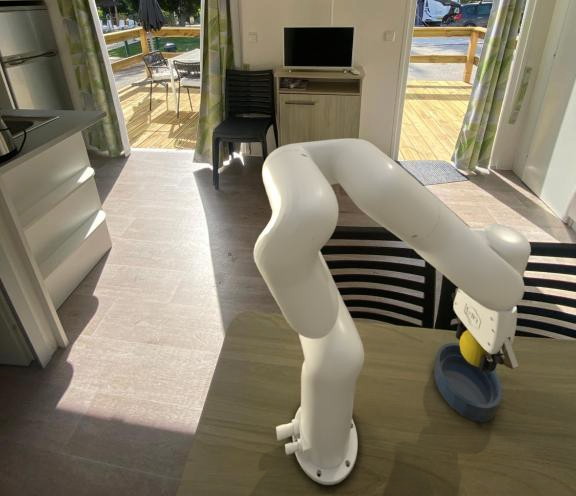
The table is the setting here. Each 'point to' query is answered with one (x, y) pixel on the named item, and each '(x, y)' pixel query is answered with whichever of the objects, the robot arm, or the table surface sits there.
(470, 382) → the bowl
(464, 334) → the lemon
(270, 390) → the table surface
